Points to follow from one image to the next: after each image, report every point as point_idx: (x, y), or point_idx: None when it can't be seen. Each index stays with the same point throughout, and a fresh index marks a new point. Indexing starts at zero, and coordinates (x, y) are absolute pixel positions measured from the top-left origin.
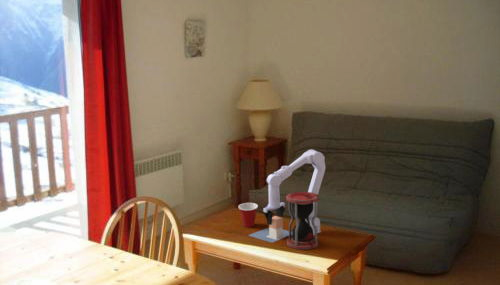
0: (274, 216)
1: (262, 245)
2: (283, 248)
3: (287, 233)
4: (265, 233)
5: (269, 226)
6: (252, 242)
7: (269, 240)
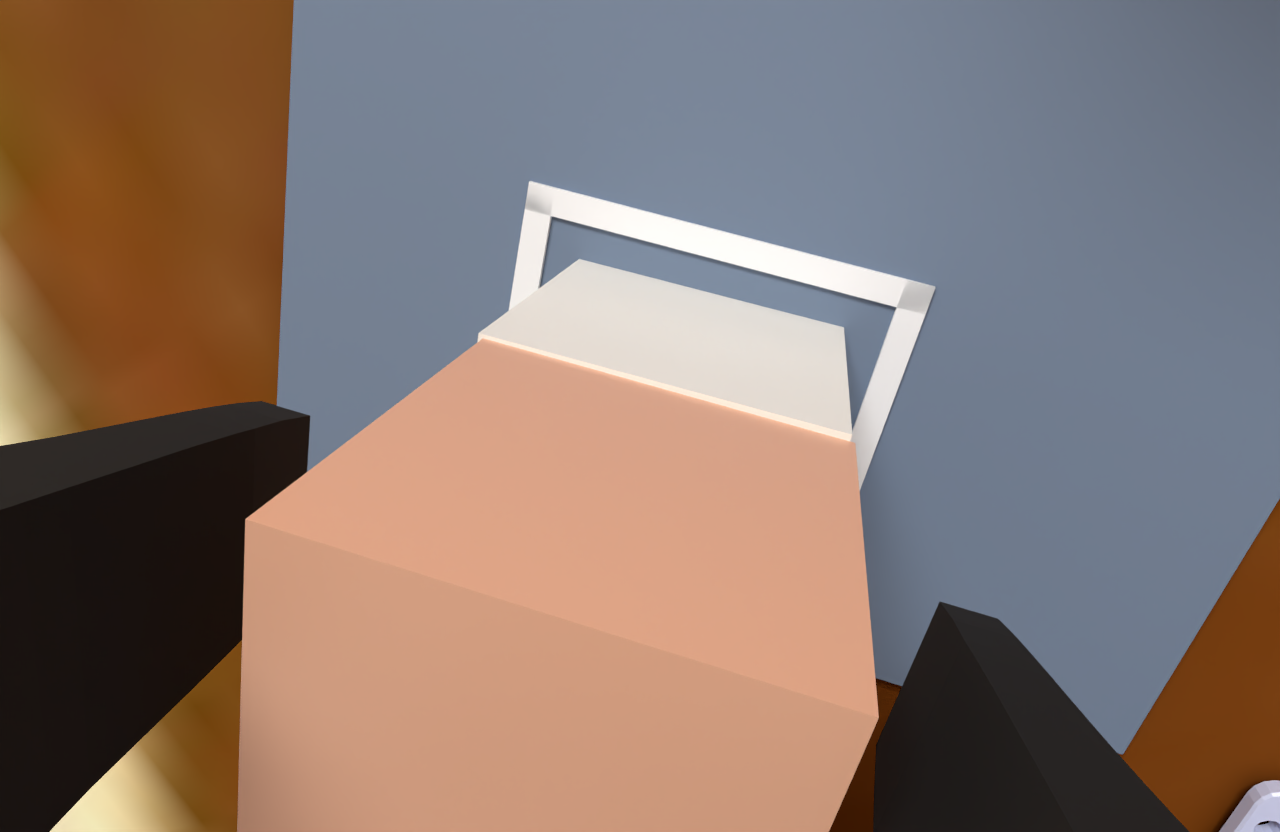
0: (720, 699)
1: (74, 364)
2: (215, 753)
3: (1017, 593)
4: (764, 8)
5: (464, 361)
6: (46, 46)
7: (346, 392)
